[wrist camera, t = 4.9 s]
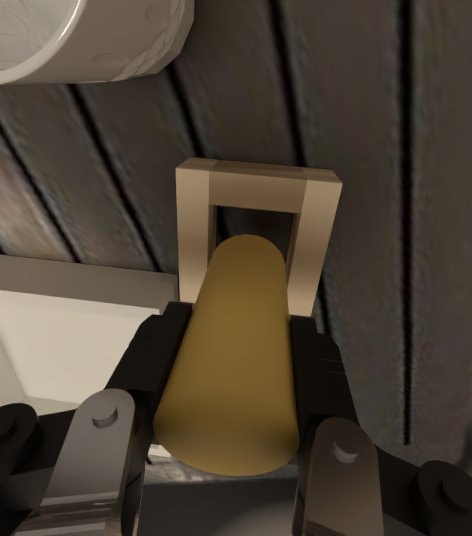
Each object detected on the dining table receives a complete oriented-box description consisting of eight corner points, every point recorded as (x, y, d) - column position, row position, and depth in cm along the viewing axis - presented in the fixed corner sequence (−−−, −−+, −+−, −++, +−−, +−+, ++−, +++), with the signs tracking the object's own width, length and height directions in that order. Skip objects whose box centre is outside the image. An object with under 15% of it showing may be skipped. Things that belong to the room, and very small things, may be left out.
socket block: (190, 157, 17) (175, 167, 15) (331, 169, 17) (342, 183, 14) (191, 276, 21) (180, 301, 19) (305, 289, 21) (310, 316, 18)
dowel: (211, 230, 13) (146, 379, 6) (290, 238, 13) (311, 400, 6) (209, 295, 15) (158, 465, 8) (279, 303, 15) (287, 484, 8)
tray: (-36, 250, 22) (-93, 279, 19) (177, 274, 21) (158, 309, 18) (26, 392, 30) (-6, 431, 27) (182, 414, 29) (170, 457, 26)
